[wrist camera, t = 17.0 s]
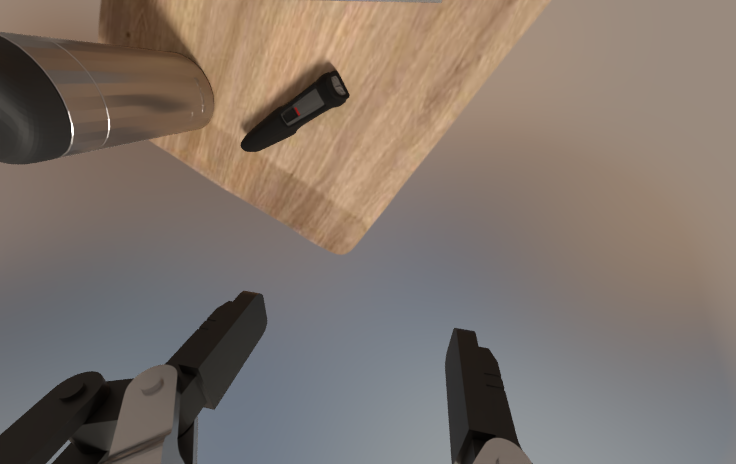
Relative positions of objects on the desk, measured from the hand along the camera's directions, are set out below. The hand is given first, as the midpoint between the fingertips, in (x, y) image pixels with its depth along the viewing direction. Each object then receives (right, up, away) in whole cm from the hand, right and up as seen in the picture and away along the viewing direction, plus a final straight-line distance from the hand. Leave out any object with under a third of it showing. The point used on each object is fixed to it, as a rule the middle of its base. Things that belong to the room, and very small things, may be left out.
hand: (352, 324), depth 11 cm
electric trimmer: (-8, +19, +25) cm, 32 cm away
